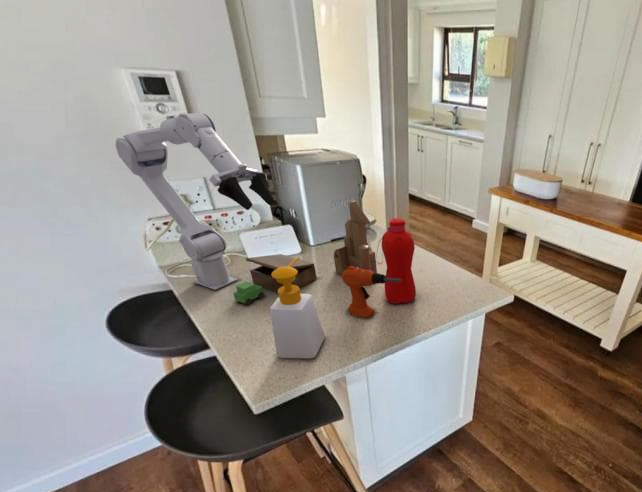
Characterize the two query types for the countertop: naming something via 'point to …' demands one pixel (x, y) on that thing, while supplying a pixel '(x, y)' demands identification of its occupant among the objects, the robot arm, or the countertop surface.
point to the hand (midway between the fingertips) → (261, 205)
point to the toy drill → (362, 289)
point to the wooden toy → (355, 244)
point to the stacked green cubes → (248, 292)
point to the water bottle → (398, 262)
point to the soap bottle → (294, 318)
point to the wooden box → (265, 279)
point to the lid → (279, 261)
